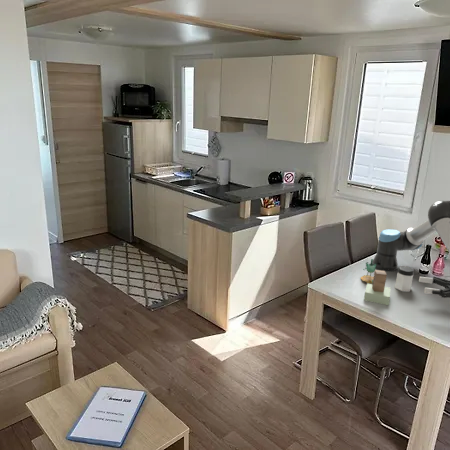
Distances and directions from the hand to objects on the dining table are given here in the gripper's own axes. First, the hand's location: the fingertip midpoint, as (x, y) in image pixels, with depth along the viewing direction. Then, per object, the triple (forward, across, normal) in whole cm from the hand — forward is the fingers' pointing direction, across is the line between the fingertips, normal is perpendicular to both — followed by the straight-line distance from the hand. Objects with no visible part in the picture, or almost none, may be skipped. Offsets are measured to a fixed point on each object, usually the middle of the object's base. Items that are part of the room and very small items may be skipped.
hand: (421, 284), depth 210 cm
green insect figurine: (+22, +23, -12) cm, 34 cm away
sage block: (+20, +2, -12) cm, 23 cm away
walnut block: (+20, +2, -7) cm, 21 cm away
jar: (+4, +19, -12) cm, 23 cm away
